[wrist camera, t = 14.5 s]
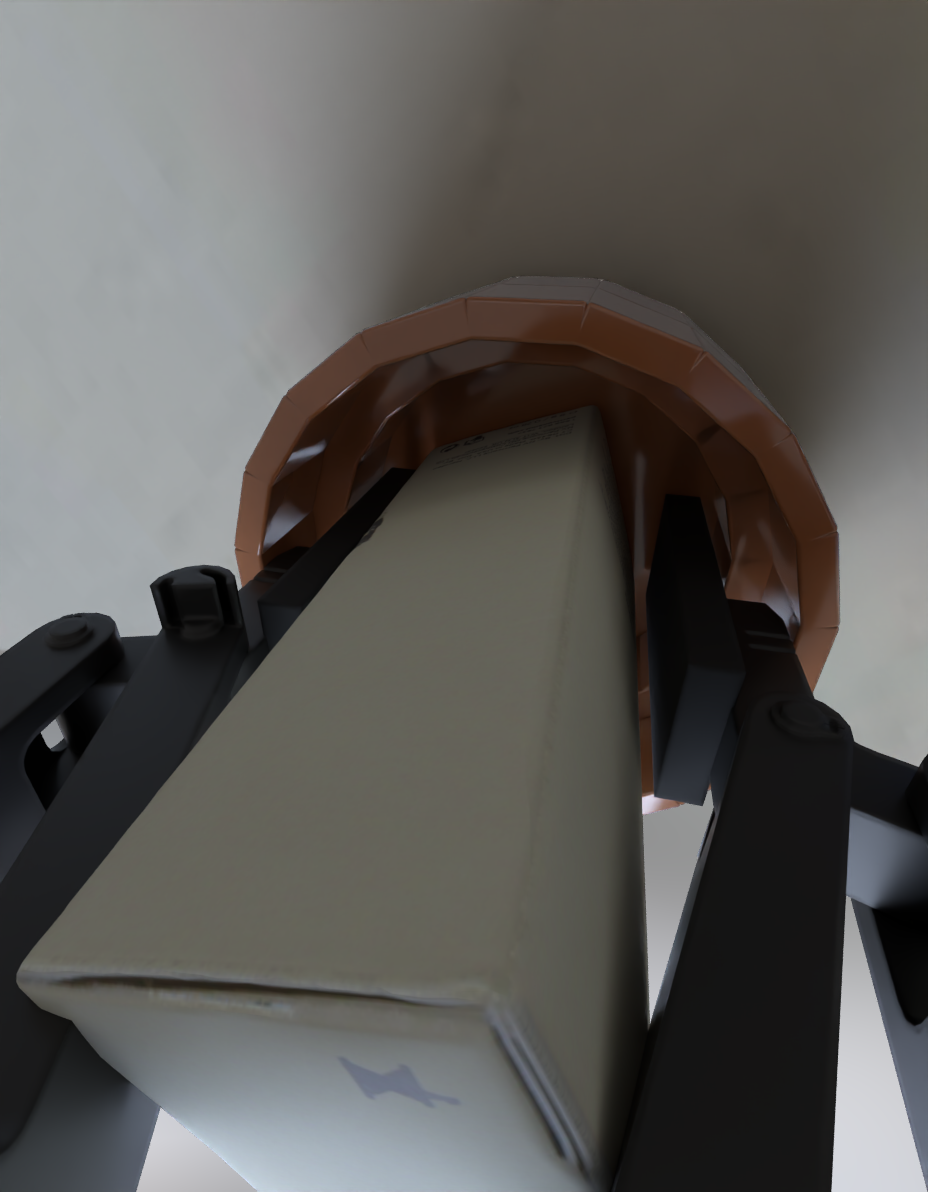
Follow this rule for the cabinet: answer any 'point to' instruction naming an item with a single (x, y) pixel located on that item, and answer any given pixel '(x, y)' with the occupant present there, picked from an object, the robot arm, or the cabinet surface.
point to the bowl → (549, 386)
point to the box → (402, 858)
